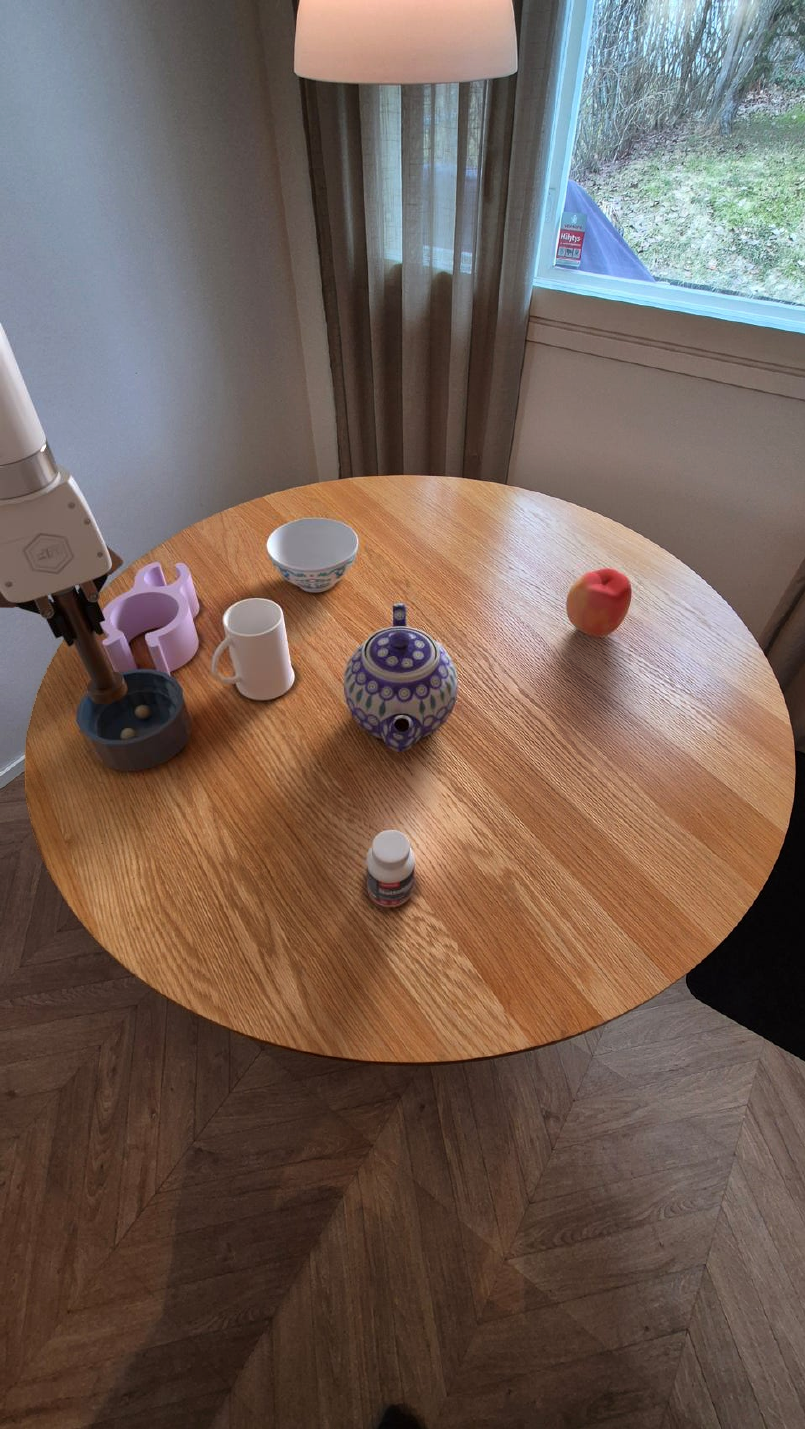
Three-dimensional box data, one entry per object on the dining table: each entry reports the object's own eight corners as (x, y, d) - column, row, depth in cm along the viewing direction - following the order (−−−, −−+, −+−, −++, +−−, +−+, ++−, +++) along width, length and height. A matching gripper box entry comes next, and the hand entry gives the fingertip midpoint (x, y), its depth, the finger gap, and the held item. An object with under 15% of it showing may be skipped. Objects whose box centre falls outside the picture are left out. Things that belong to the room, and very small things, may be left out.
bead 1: (127, 728, 87) (141, 733, 88) (122, 724, 88) (136, 729, 90) (120, 742, 87) (134, 746, 88) (115, 737, 88) (129, 742, 89)
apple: (592, 603, 111) (606, 552, 103) (634, 635, 105) (652, 584, 98) (548, 623, 107) (560, 572, 100) (590, 657, 102) (605, 606, 94)
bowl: (111, 790, 84) (95, 761, 80) (78, 725, 91) (62, 694, 87) (209, 744, 89) (199, 714, 85) (171, 686, 97) (160, 655, 92)
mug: (235, 720, 92) (218, 657, 83) (205, 686, 97) (186, 623, 88) (305, 682, 97) (297, 619, 88) (274, 652, 102) (263, 589, 93)
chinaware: (294, 549, 120) (289, 511, 115) (372, 564, 117) (371, 526, 112) (257, 597, 111) (250, 558, 105) (340, 616, 108) (337, 576, 102)
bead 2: (136, 713, 92) (133, 721, 90) (136, 701, 91) (133, 709, 89) (151, 714, 93) (149, 722, 91) (151, 702, 92) (149, 710, 90)
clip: (142, 595, 111) (130, 560, 106) (216, 598, 111) (207, 563, 105) (101, 679, 97) (84, 644, 92) (184, 682, 97) (173, 647, 92)
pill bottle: (376, 914, 73) (375, 875, 67) (360, 875, 76) (357, 833, 70) (420, 898, 74) (423, 858, 68) (403, 860, 78) (404, 818, 71)
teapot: (353, 653, 102) (348, 573, 91) (452, 656, 102) (460, 575, 90) (337, 786, 85) (329, 706, 74) (457, 790, 85) (466, 710, 74)
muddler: (98, 709, 74) (48, 605, 64) (86, 691, 76) (35, 587, 66) (132, 693, 75) (88, 589, 66) (119, 676, 78) (75, 573, 68)
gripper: (-90, 515, 51) (11, 684, 65) (116, 460, 57) (168, 624, 71) (-106, 476, 55) (-8, 642, 69) (88, 428, 62) (143, 589, 75)
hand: (81, 632), depth 70 cm, fingers closed on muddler, 2 cm apart
